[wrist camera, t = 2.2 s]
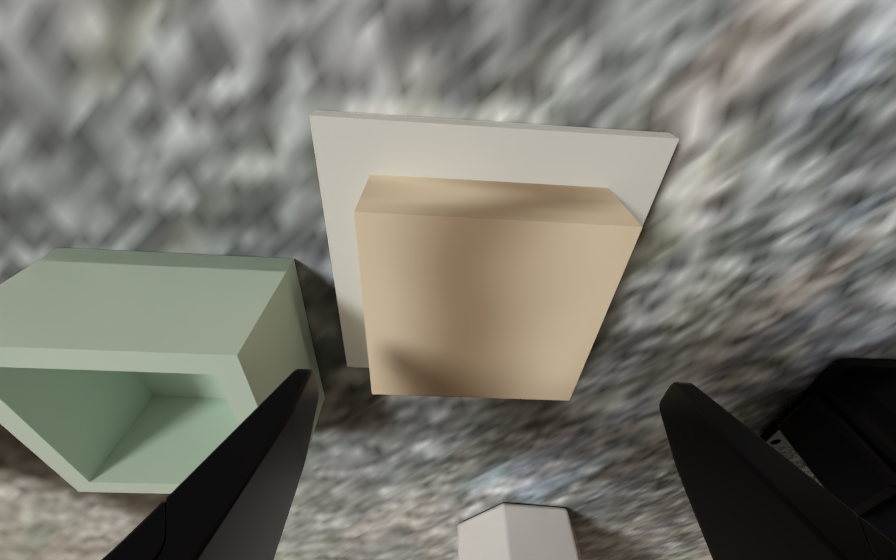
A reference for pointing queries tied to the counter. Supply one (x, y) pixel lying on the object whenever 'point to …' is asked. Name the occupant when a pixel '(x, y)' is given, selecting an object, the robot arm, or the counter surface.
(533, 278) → the lid
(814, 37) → the counter surface
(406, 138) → the mat
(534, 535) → the jar
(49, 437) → the sage green tray
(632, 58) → the counter surface
